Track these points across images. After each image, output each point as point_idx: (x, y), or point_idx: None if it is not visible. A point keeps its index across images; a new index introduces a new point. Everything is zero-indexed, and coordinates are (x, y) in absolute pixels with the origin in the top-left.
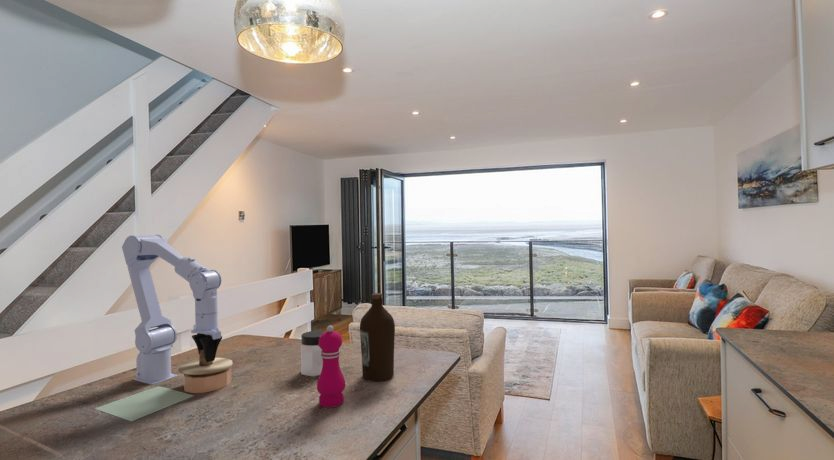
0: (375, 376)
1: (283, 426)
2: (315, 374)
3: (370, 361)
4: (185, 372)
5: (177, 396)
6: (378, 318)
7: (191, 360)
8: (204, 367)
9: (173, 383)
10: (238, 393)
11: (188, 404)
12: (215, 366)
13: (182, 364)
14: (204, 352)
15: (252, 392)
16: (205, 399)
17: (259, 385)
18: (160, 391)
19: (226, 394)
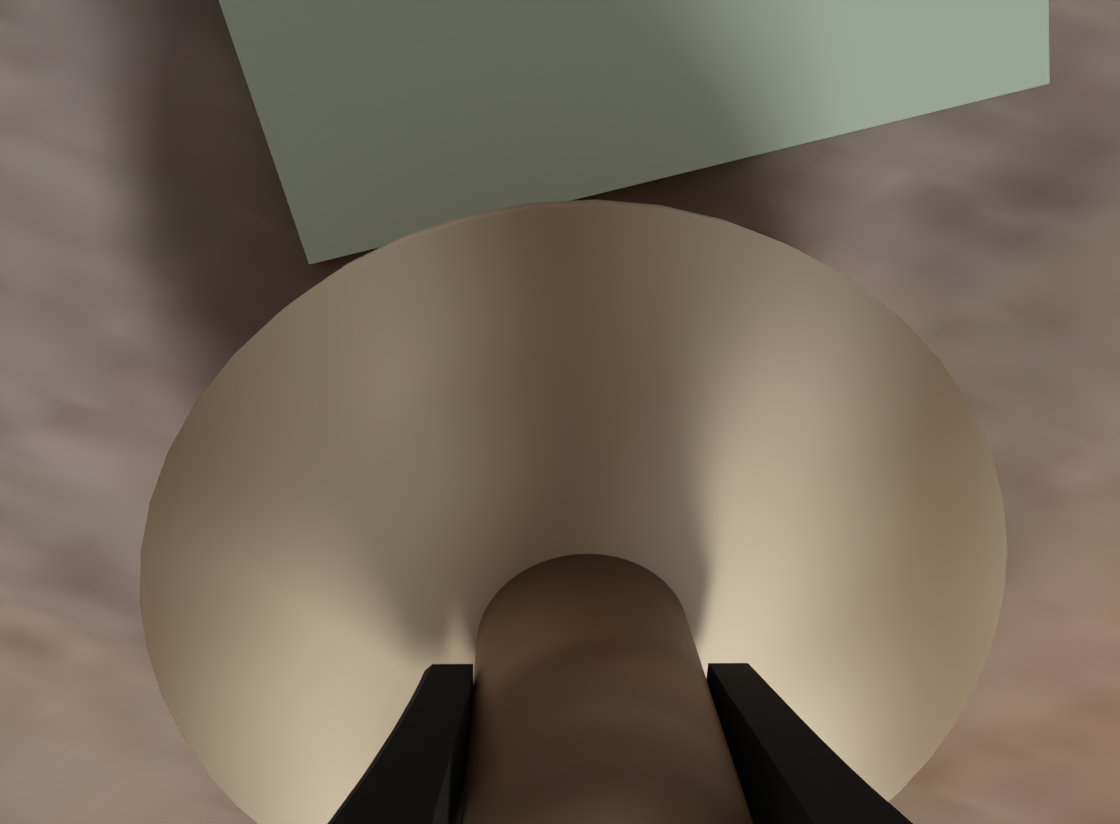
0: None
1: None
2: None
3: None
4: (401, 242)
5: (445, 108)
6: None
7: (1003, 569)
8: (406, 565)
9: (1004, 276)
10: (77, 610)
11: (136, 124)
12: (347, 695)
13: (898, 374)
14: (417, 794)
15: (3, 701)
16: (155, 321)
17: (151, 809)
18: (820, 23)
19: (140, 524)
